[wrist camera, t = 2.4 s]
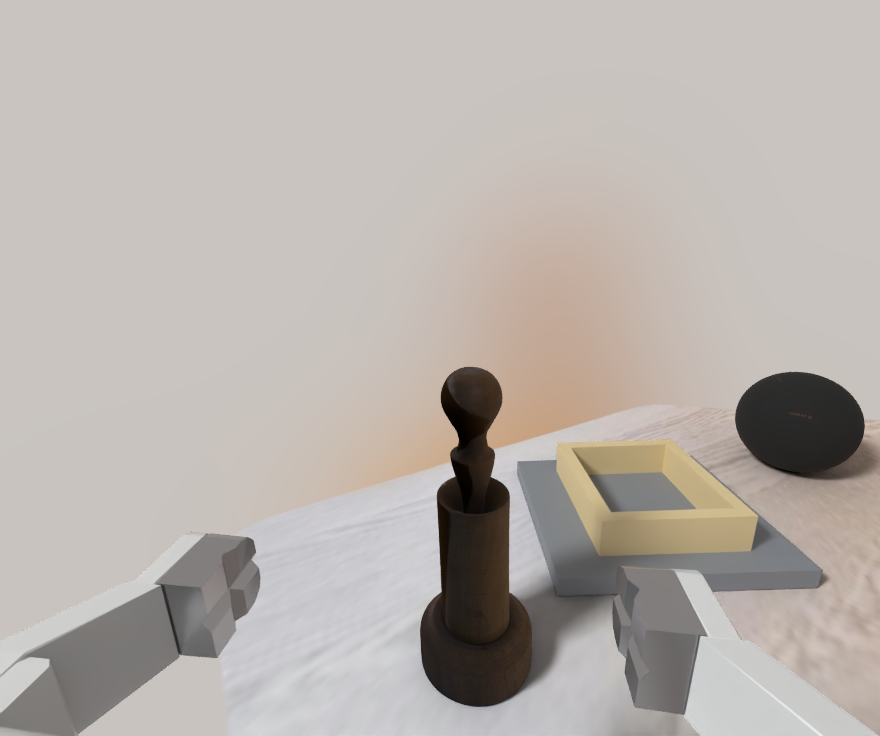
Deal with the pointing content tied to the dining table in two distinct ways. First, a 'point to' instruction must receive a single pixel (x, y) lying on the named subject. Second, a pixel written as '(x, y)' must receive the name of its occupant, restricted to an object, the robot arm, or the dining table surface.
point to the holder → (651, 520)
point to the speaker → (799, 422)
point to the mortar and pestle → (474, 562)
